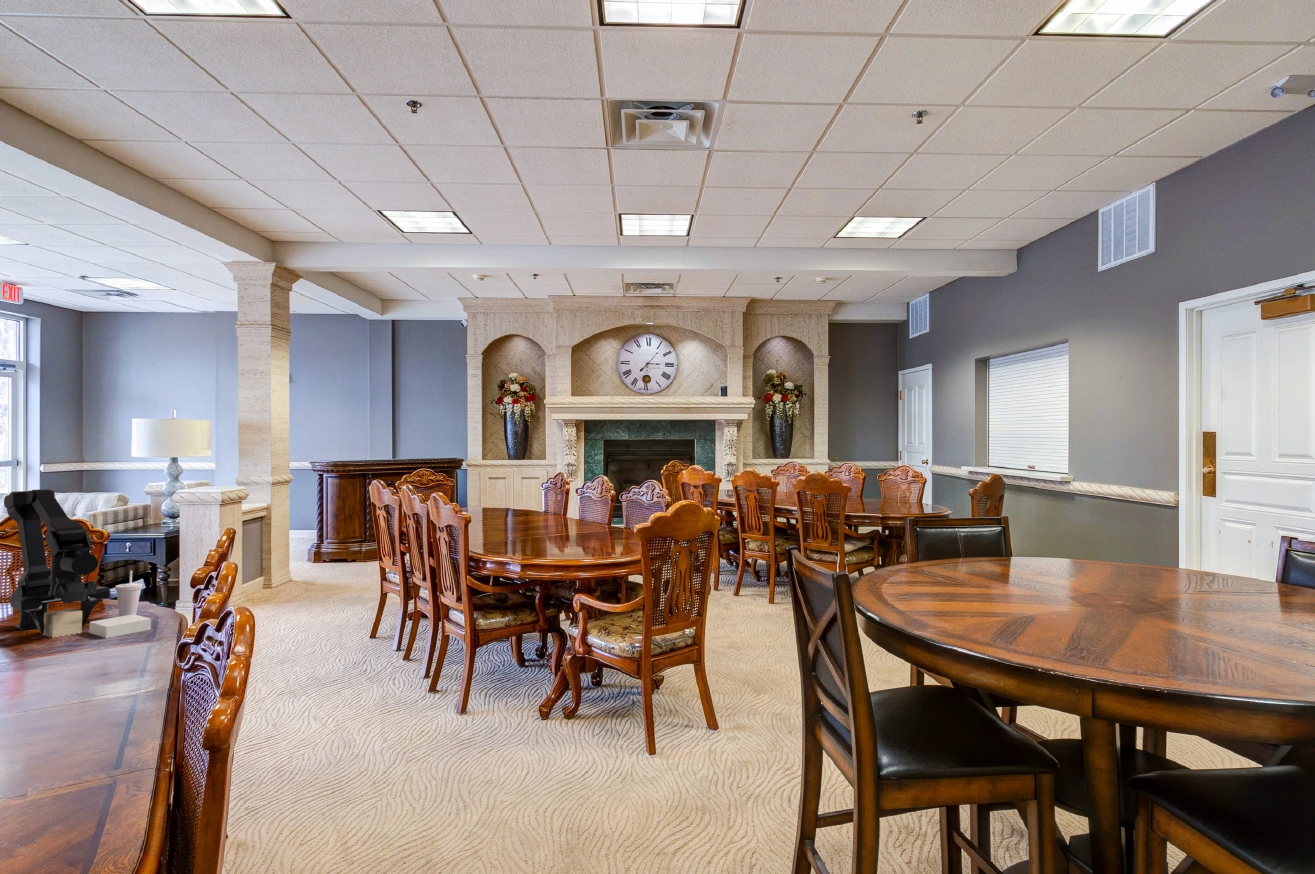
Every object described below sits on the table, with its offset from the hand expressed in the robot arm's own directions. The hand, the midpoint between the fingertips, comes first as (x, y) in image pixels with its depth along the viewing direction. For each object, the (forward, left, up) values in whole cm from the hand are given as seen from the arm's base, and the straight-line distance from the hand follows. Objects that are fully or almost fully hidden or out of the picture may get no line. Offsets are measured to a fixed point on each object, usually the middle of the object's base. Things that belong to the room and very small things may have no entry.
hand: (62, 629), depth 172 cm
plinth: (+10, +9, -1) cm, 13 cm away
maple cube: (0, 0, -1) cm, 1 cm away
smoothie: (-6, +17, -1) cm, 18 cm away
